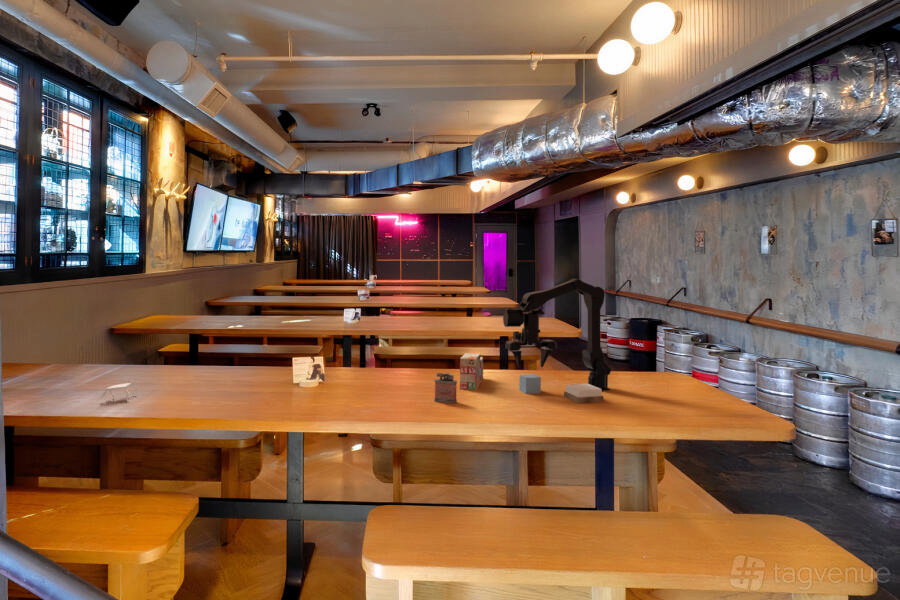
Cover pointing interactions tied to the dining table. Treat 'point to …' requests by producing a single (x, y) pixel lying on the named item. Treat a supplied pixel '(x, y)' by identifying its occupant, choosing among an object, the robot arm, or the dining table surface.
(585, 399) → the tower bottom
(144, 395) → the dining table surface
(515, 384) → the dining table surface
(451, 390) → the lighter
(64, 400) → the dining table surface
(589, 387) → the tower top
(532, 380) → the slate block
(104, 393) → the origami figure
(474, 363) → the printed cardboard box
